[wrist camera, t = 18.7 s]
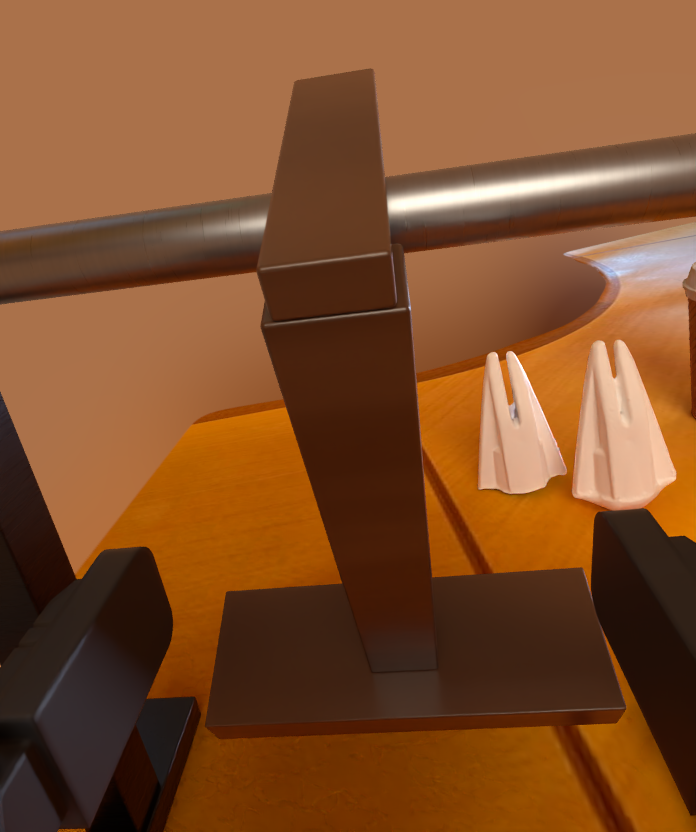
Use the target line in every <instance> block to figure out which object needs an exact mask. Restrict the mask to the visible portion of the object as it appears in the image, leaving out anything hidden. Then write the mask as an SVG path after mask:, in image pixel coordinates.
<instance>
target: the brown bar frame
mask: <svg viewBox="0 0 696 832" xmlns="http://www.w3.org/2000/svg"><path fill="white" fill-rule="evenodd" d="M256 272H257V275H258V279H259V282H260V285H261V289H262V291H263V295H264V298H265V303H264V309H263V315H262V321H261V330H262V333H263V336H264V339H265V342H266V346H267V349H268V352H269V355H270V358H271V361H272V364H273V368H274V371H275V374H276V377H277V380H278V383H279V386H280V389H281V393H282V396H283V399H284V402H285V405H286V408H287V411H288V415H289V418H290V421H291V424H292V427H293V430H294V433H295V436H296V440H297V443H298V446H299V449H300V452H301V455H302V458H303V461H304V465H305V468H306V471H307V474H308V477H309V480H310V483H311V486H312V490H313V493H314V496H315V499H316V502H317V505H318V508H319V511H320V515H321V518H322V521H323V524H324V527H325V530H326V533H327V536H328V540H329V543H330V546H331V549H332V552H333V555H334V558H335V561H336V565H337V568H338V571H339V574H340V577H341V580H342V583H343V584H331V585H316V586H302V587H287V588H272V589H257V590H242V591H228V592H226V596H225V603H224V609H223V615H222V622H221V628H220V635H219V641H218V647H217V654H216V660H215V666H214V673H213V679H212V685H211V692H210V698H209V705H208V711H207V717H206V724H205V727H206V728H207V729H208V730H210V731H211V732H212V733H213V734H214V735H215V736H216V737H217V738H219V739H234V738H259V737H285V736H310V735H335V734H360V733H385V732H411V731H436V730H461V729H486V728H511V727H536V726H562V725H587V724H612V723H617V722H618V721H619V719H620V718H621V716H622V715H623V713H624V712H625V710H626V705H625V702H624V698H623V695H622V692H621V689H620V686H619V682H618V679H617V676H616V673H615V669H614V666H613V663H612V660H611V657H610V653H609V650H608V647H607V644H606V640H605V637H604V634H603V631H602V628H601V624H600V622H599V620H598V617H597V615H596V611H595V608H594V604H593V599H592V595H591V592H590V589H589V586H588V582H587V579H586V576H585V573H584V570H583V568H568V569H553V570H538V571H523V572H508V573H494V574H479V575H464V576H449V577H435V578H432V573H431V560H430V547H429V534H428V522H427V509H426V496H425V483H424V470H423V458H422V445H421V432H420V419H419V406H418V394H417V381H416V368H415V355H414V343H413V331H412V317H411V306H410V298H409V290H408V282H407V274H406V266H405V258H404V250H403V247H402V245H401V244H391V234H390V224H389V214H388V204H387V194H386V184H385V174H384V164H383V154H382V143H381V133H380V124H379V113H378V103H377V94H376V83H375V73H374V70H373V69H365V70H358V71H352V72H346V73H340V74H334V75H327V76H321V77H315V78H310V79H303V80H297V81H295V82H294V87H293V91H292V97H291V101H290V106H289V111H288V116H287V121H286V126H285V131H284V136H283V141H282V146H281V151H280V156H279V161H278V166H277V170H276V176H275V180H274V185H273V190H272V195H271V200H270V205H269V210H268V215H267V220H266V225H265V230H264V235H263V240H262V245H261V250H260V255H259V260H258V264H257V270H256Z"/></svg>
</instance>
